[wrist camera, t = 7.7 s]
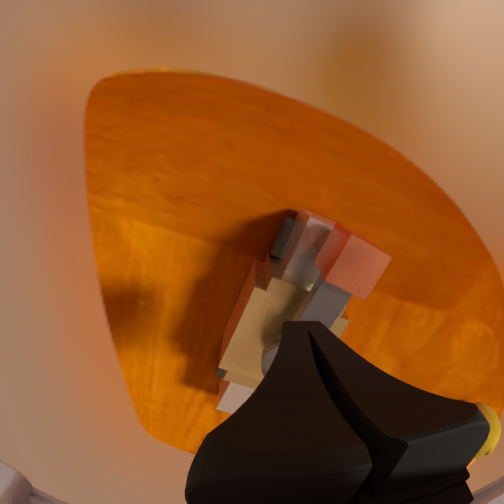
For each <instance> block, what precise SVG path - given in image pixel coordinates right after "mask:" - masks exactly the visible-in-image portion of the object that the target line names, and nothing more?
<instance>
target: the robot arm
mask: <svg viewBox="0 0 504 504" xmlns="http://www.w3.org/2000/svg"><path fill="white" fill-rule="evenodd" d="M489 432H490V424H489V422H488V421H487V419H486V418H485V417H484V415H483V414H482V412H481V411H480V410H479V408H478V407H477V405H476V404H474V403H469V402H464V401H459V400H454V399H450V398H446V397H442V396H439V395H436V394H433V393H429V392H426V391H424V390H421V389H419V388H416V387H414V386H411V385H409V384H407V383H405V382H403V381H400V380H398V379H396V378H394V377H392V376H391V375H389V374H387V373H385V372H384V371H382V370H380V369H379V368H377V367H375V366H374V365H372V364H371V363H369V362H368V361H367V360H365V359H364V358H362V357H361V356H360V355H358V354H357V353H356V352H355V351H353V350H352V349H351V348H350V347H348V346H347V345H346V344H345V343H344V342H342V341H341V340H340V339H339V338H338V337H337V336H336V335H335V334H333V333H332V332H331V331H330V330H329V329H328V328H327V327H326V326H325V325H324V324H322V323H321V322H320V321H284V322H283V323H282V328H281V339H280V345H279V348H278V351H277V353H276V355H275V358H274V360H273V362H272V364H271V366H270V368H269V370H268V371H267V373H266V375H265V376H264V378H263V379H262V381H261V382H260V384H259V385H258V386H257V388H256V389H255V390H254V392H253V393H252V394H251V396H250V397H249V398H248V399H247V400H246V401H245V402H244V403H243V404H242V405H241V406H240V407H239V408H238V409H237V410H236V411H235V412H234V413H233V414H232V415H231V416H230V417H229V418H228V419H226V420H225V421H224V422H223V423H221V424H220V425H219V426H217V427H216V428H215V429H213V430H212V431H211V432H209V433H208V434H207V435H206V437H205V439H204V440H203V442H202V444H201V446H200V447H199V449H198V451H197V453H196V455H195V457H194V459H193V462H192V464H191V467H190V470H189V473H188V477H187V483H186V488H185V499H186V502H187V504H504V476H502V477H501V478H499V479H497V480H495V481H493V482H492V483H490V484H488V485H486V486H484V487H482V488H480V489H478V490H476V491H474V492H472V493H471V491H470V489H469V488H468V485H467V483H466V480H467V479H468V478H469V476H470V474H469V472H468V470H467V468H466V467H467V465H468V464H469V463H470V462H471V460H472V459H473V458H474V457H475V455H476V454H477V453H478V452H479V450H480V449H481V448H482V446H483V445H484V443H485V442H486V440H487V438H488V435H489ZM0 504H69V503H66V502H64V501H62V500H59V499H57V498H55V497H53V496H51V495H48V494H46V493H44V492H42V491H40V490H38V489H36V488H34V487H33V486H32V484H31V483H30V482H29V481H28V479H27V478H25V476H23V474H21V473H20V472H19V471H18V470H16V469H15V468H13V467H11V466H10V465H8V464H6V463H4V462H3V461H1V460H0Z"/></svg>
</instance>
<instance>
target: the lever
mask: <svg viewBox="0 0 504 504" xmlns="http://www.w3.org/2000/svg"><path fill="white" fill-rule="evenodd" d="M391 258H392V257H391V256H389V255H388V254H387V253H385V252H384V251H383V250H382V249H380V248H379V247H378V246H376V245H375V244H374V243H372V242H371V241H369V240H367V239H365V238H364V237H362V236H360V235H359V234H357V233H355V232H353V231H352V230H350V229H348V228H346V227H345V226H343V225H341V224H339V223H338V222H336V224H335V226H334V227H333V229H332V231H331V233H330V234H329V236H328V238H327V240H326V242H325V243H324V245H323V247H322V249H321V250H320V252H319V254H318V256H317V257H316V259H315V261H314V262H315V264H316V266H317V268H318V269H319V271H320V275H319V277H318V278H317V280H316V282H315V283H314V285H313V287H312V288H311V290H310V292H309V293H308V295H307V296H306V298H305V300H304V301H303V303H302V305H301V306H300V308H299V309H298V311H297V312H296V314H295V316H294V317H293V319H292V320H291V321H320V322H321V323H322V324H324V325H325V326H326V327H327V328H328V329H330V327H331V326H332V324H333V323H334V321H335V320H336V319H337V317H338V316H339V314H340V313H341V311H342V310H343V308H344V307H345V305H346V303H347V302H348V300H349V299H350V297H351V296H352V294H353V295H355V296H357V297H359V298H361V299H363V300H366V299H367V297H368V296H369V294H370V293H371V291H372V289H373V288H374V286H375V285H376V283H377V281H378V280H379V278H380V277H381V275H382V273H383V272H384V270H385V268H386V267H387V265H388V263H389V262H390V260H391ZM280 339H281V337H280V338H279V339H275V340H273V341H271V342H270V343H268V344H267V345H266V346H265V347H264V349H263V351H262V354H261V369H262V374H263V375H264V376H265V375H266V373H267V371H268V370H269V368H270V366H271V364H272V362H273V360H274V358H275V355H276V353H277V351H278V348H279V345H280Z"/></svg>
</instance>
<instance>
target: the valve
mask: <svg viewBox="0 0 504 504" xmlns="http://www.w3.org/2000/svg"><path fill="white" fill-rule="evenodd" d="M335 224H336V223H335V222H333V221H331V220H329V219H326V218H324V217H322V216H320V215H317V214H315V213H313V212H311V211H308V210H306V209H304V208H301V207H300V209H299V211H298V214H297V216H296V218H294V217H292V216H289V215H287V214H285V215H284V217H283V219H282V221H281V224H280V226H279V228H278V231H277V233H276V235H275V237H274V240H273V242H272V244H271V247H270V252H269V251H268V253H267V256H266V258H265V260H264V262H261V261H258V260H256V259H255V260H254V262H253V264H252V267H251V269H250V271H249V274H248V276H247V278H246V280H245V283H244V285H243V287H242V290H241V292H240V294H239V297H238V299H237V301H236V304H235V306H234V308H233V310H232V313H231V315H230V317H229V320H228V322H227V324H226V327H225V329H224V335H223V341H222V347H221V353H220V359H219V362H218V365H217V369H216V376H219V377H222V378H221V380H220V386H219V393H218V400H217V407H216V409H218V410H221V411H225V412H228V413H232V414H233V413H234V412H235V411H236V410H237V409H238V408H239V407H240V406H241V405H242V404H243V403H244V402H245V401H246V400H247V399H248V398H249V397H250V396H251V394H252V393H253V392H254V390H255V389H256V388H257V386H258V385H259V384H260V382H261V381H262V379H263V378H264V375H263V374H262V369H261V354H262V351H263V349H264V347H265V346H266V345H267V344H268V343H270V342H271V341H273V340H275V339H279V338H280V337H281V328H282V323H283V322H284V321H291V320H292V319H293V317H294V316H295V314H296V312H297V311H298V309H299V308H300V306H301V305H302V303H303V301H304V300H305V298H306V296H307V295H308V293H309V292H310V290H311V288H312V287H313V285H314V283H315V282H316V280H317V278H318V277H319V275H320V271H319V269H318V268H317V266H316V264H315V262H314V261H315V259H316V257H317V256H318V254H319V252H320V250H321V249H322V247H323V245H324V243H325V242H326V240H327V238H328V236H329V234H330V233H331V231H332V229H333V227H334V226H335ZM347 306H348V305H347V304H346V305H345V307H344V308H343V310H342V311H341V313H340V314H339V316H338V317H337V319H336V320H335V321H334V323H333V324H332V326H331V327H330V329H329V330H330V331H331V332H332V333H333V334H335V335H336V336H337V337H338V338H340V336H341V334H342V333H343V331H344V330H345V328H346V326H347V324H348V323H349V319H348V317H347V315H346V313H345V312H344V311H345V309H346V307H347Z"/></svg>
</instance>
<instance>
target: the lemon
mask: <svg viewBox="0 0 504 504" xmlns="http://www.w3.org/2000/svg"><path fill="white" fill-rule="evenodd" d="M474 404H476V405H477V407H478V408H479V410H480V411H481V412H482V414H483V415H484V417H485V418H486V419H487V421H488V422H489V424H490V432H489V435H488V438H487V440H486V442H485V443H484V445H483V446H482V448H481V449H480V450H479V452H478V453H477V454H476V455H475V457H474V458H477V457H482V456H484V455H489V454H491V453H492V452H493V449H494V447H495V446H496V444H497V442H498V440H499V437H500V433H501V432H500V431H501V426H500V422H499V419H498V417H497V415H496V414H495V412H494V411H493V409H492V408H491V407H489V406H488V405H486V404H484V403H480V402H476V403H474Z"/></svg>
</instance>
